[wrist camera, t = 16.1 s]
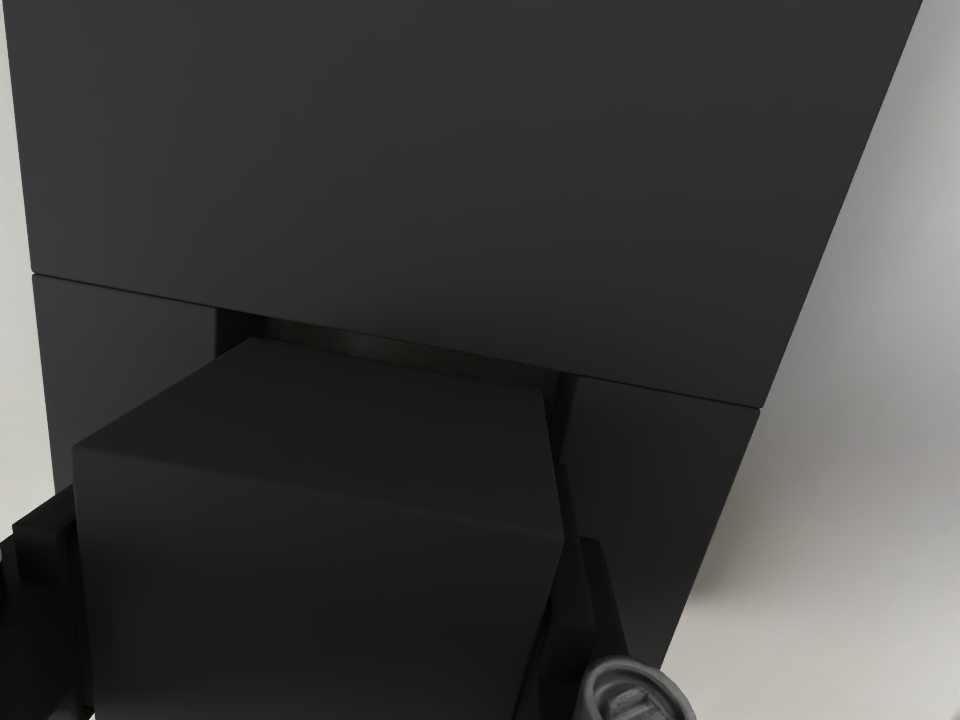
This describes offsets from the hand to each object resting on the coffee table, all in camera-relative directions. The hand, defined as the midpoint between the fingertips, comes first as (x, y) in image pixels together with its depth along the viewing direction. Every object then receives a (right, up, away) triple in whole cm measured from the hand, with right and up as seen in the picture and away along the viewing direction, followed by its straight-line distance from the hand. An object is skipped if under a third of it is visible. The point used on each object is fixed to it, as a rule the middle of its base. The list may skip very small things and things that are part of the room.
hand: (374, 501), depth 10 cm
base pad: (+1, +4, +1) cm, 4 cm away
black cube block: (0, 0, 0) cm, 0 cm away
